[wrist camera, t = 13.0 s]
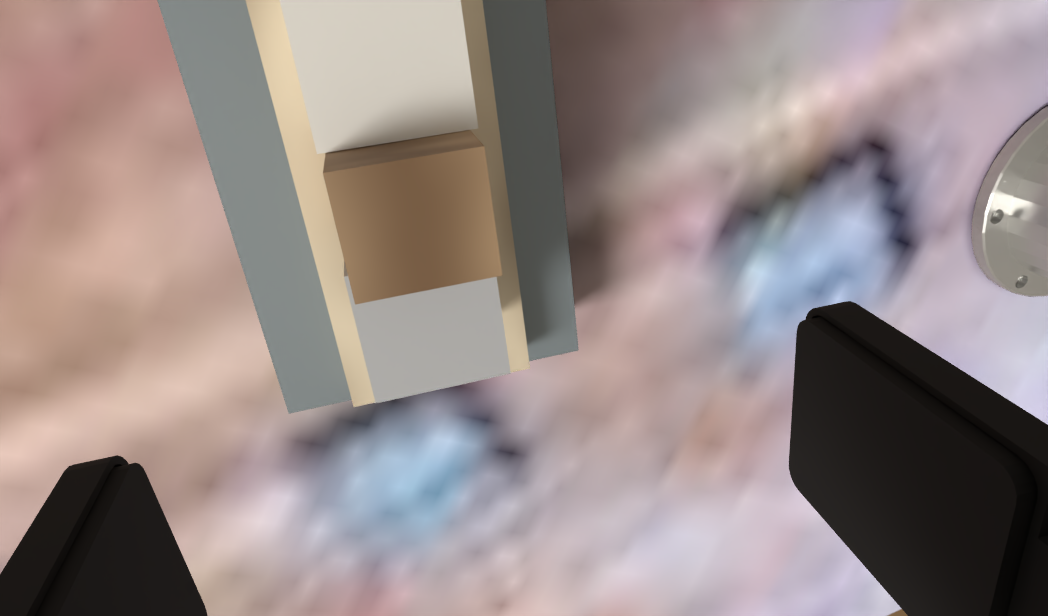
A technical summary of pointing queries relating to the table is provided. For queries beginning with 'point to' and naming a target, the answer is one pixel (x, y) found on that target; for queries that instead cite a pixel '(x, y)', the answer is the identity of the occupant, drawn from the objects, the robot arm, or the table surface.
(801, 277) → the table surface
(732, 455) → the table surface
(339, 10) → the crate
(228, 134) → the dock
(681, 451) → the table surface
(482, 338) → the block
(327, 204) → the pallet
